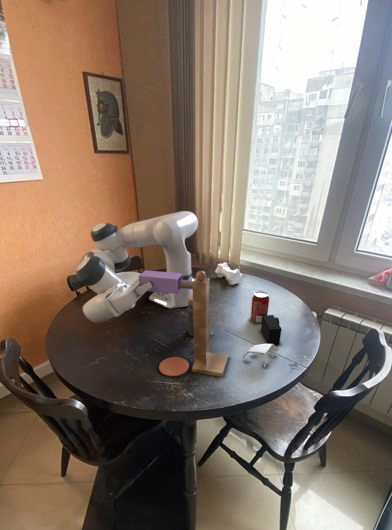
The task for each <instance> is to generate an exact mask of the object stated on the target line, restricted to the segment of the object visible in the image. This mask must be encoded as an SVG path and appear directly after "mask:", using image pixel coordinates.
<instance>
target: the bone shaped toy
mask: <svg viewBox="0 0 392 530" xmlns="http://www.w3.org/2000/svg"><path fill="white" fill-rule="evenodd" d="M214 272H215V274H217V277H218V278H219V279H222V278H223V277H224V278H226V281H228V283H229V285H230V286H234V285H236V284H240V281H241V279H242V277H243V274H242V273H241V272H240V269H238V268H235V269H231V268H230V267H229V266H228V263H227V262H224V261H223V263H217V267H216V269H214Z"/></svg>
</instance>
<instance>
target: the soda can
mask: <svg viewBox="0 0 392 530" xmlns="http://www.w3.org/2000/svg"><path fill="white" fill-rule="evenodd" d="M269 305H270V297H269V293H268V292H266V291H263V290H258V291H257V290H256V291H255V292H254V293H253V295H252V297H251V306H250V316H249V317H250V321H251V322H253V323H254V324H255V323H256V324H261V322H262V316H263V315H269V307H270V306H269Z"/></svg>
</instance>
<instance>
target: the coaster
mask: <svg viewBox="0 0 392 530" xmlns="http://www.w3.org/2000/svg"><path fill="white" fill-rule="evenodd" d="M158 370H159V372H160V373H161V374H162V375H164V376H167V377H171V378H173V377H179V376H183V375H184V374H186V373H187V372H188V371H189V370H190V363H189V361H188V360H186V358H183V357H180V356H171V357H167V358H164V359H163V360H161V362H160V363H159V365H158Z"/></svg>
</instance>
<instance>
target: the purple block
mask: <svg viewBox="0 0 392 530" xmlns="http://www.w3.org/2000/svg"><path fill="white" fill-rule="evenodd" d="M178 280H183V277H182V273H170V272H166V271H158V270H157V271H156V270H143V272H141V273H140V275H139V283H140V286H142V285H144V284H146V283H147V282H149V281H151V282H152V283H153V285H154V286H153V287H152V288H150V289H149V290H147V291H146V292H153V293H154V292H162V293H172V294H179V292H180V291H181V290H182V289H183V288H178Z"/></svg>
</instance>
